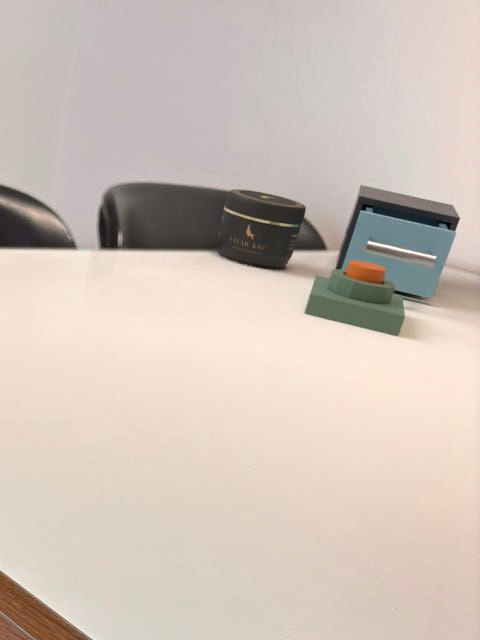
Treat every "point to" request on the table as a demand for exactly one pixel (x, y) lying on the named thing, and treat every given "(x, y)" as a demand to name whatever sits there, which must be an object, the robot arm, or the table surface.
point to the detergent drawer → (402, 248)
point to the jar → (259, 228)
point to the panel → (357, 302)
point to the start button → (366, 272)
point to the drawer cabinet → (397, 204)
